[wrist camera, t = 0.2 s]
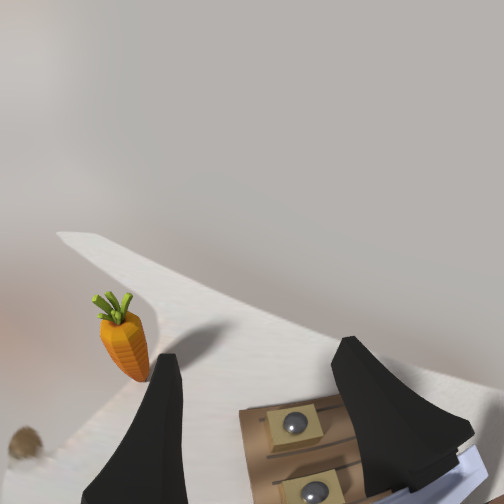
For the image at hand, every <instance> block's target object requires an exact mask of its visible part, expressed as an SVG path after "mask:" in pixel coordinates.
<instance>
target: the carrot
mask: <svg viewBox="0 0 504 504" xmlns="http://www.w3.org/2000/svg"><path fill="white" fill-rule="evenodd" d="M105 296H106V297H107V299H108V300H109V301H110V303H111V304H112V305H113V307H114V309H115V310H114V309H113V308H112V307H111V306H110V305H109V304H108V303H107V302H106V301H105V300H104V299H103V298H101V297H100V296H99V295H95V296H94V297H93V299H92V302H93V303H94V304H96V305H97V306H98V307H100V308H101V309H102V310H104V311H105V312H106V313H107V314H108V315H106V314H102V313H99V314H98V318H101V319H103V320H102V321H101V329H100V337H101V340H102V342H103V343H104V345H105V347H106V349H107V351H108V353H109V354H110V356H111V358H112V360H113V361H114V362H115V363H116V364H117V366H118V367H119V368H120V369H121V370H122V371H123V372H124V373H125V374H127V375H128V376H129V377H131V378H132V379H134V380H135V381H138V382H144V381H145V380H146V379H147V377H148V374H149V370H150V369H149V358H148V350H147V343H146V339H145V335H144V331H143V327H142V323H141V320H140V318H139V317H138V316H136V315H134V314H133V313H131V312H129V311H127V309H128V306H129V304H130V301H131V299H132V297H133V295H132V294H131V293H126V294H125V295H124V297H123V300H122V305H121V308H120V305H119V303H118V301H117V299H116V298H115V296H114V295H113V294H112V292H106V293H105Z"/></svg>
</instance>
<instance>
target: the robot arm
mask: <svg viewBox="0 0 504 504" xmlns="http://www.w3.org/2000/svg"><path fill="white" fill-rule="evenodd" d="M331 367H332V371H333V375H334V378H335V382H336V385H337V387H338V390H339V392H340V395H341V397H342V400H343V402H344V404H345V407H346V409H347V412H348V414H349V417H350V419H351V422H352V425H353V428H354V431H355V435H356V439H357V443H358V447H359V452H360V457H361V463H362V469H363V478H364V491H365V494H366V497H367V498H369V497H372V496H375V495H377V494H380V493H383V492H386V491H388V490H390V489H391V491H392V494H391V495H388V496H386V497H384V498H382V499H380V500H377V501H375V502H373V503H370V504H460V503H461V502H462V501H463V500H464V499H465V498H466V497H467V496H468V495H469V494H470V493H471V492H472V491H473V490H474V489H475V488H476V487H477V486H478V485H479V484H481V483H482V482H483V481H484V480H485V479H486V478H487V477H488V473H487V470H486V468H485V466H484V463H483V461H482V459H481V456H480V454H479V452H478V450H477V448H476V445H475V444H473V445H472V446H470V447H469V448H467V449H466V450H465V451H463V452H462V453H460V454H458V455H456V453H457V452H458V448H457V447H459V446H460V445H462V444H463V443H464V442H466V441H467V440H468V439H470V438H471V437H472V436H474V434H475V432H474V430H473V428H472V426H471V424H470V422H469V421H468V420H466V419H463V418H460V417H458V416H455V415H453V414H451V413H448V412H446V411H444V410H442V409H440V408H439V407H437V406H435V405H433V404H432V403H430V402H428V401H427V400H425V399H424V398H422V397H421V396H419V395H418V394H416V393H415V392H414V391H412V390H411V389H410V388H408V387H407V386H406V385H405V384H403V383H402V382H401V381H400V380H399V379H398V378H396V377H395V376H394V375H393V374H392V373H391V372H390V371H389V370H388V369H387V368H386V367H385V366H384V365H383V364H381V363H380V362H379V361H378V360H377V359H376V358H375V357H374V356H373V355H372V353H371V352H370V351H369V350H368V349H367V348H366V347H365V346H364V345H363V344H362V343H361V342H360V341H359V340H358V339H357V338H356V337H355V336H350V337H345V338H342V340H341V343H340V345H339V347H338V349H337V352H336V354H335V356H334V358H333V360H332V363H331ZM182 415H183V389H182V377H181V374H180V370H179V366H178V362H177V359H176V355H175V354H160V355H159V356H158V359H157V363H156V366H155V369H154V372H153V375H152V378H151V381H150V383H149V386H148V388H147V391H146V393H145V396H144V398H143V401H142V403H141V405H140V407H139V409H138V411H137V413H136V416H135V418H134V420H133V422H132V424H131V426H130V427H129V429H128V431H127V433H126V435H125V436H124V438H123V440H122V441H121V443H120V445H119V446H118V448H117V449H116V451H115V452H114V454H113V455H112V457H111V458H110V460H109V461H108V462H107V464H106V465H105V466H104V468H103V469H102V470H101V472H100V473H99V474H98V475H97V477H96V478H95V479H94V480H93V481H92V482H91V483H90V484H89V486H88V487H87V488H86V489H85V490H84V491H83V494H82V499H81V504H188V499H187V493H186V487H185V479H184V471H183V462H182V447H181V443H182Z"/></svg>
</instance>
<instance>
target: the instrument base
mask: <svg viewBox="0 0 504 504" xmlns="http://www.w3.org/2000/svg"><path fill="white" fill-rule="evenodd" d="M310 404H314V407H315V410H316V413H317V416H318V419H319V422H320V425H321V428H322V431H323V434H324V436H323V437H322V439H321V440H320V441H319V442H318V444H317V445H313V446H309V447H304V448H299V449H294V450H289V451H283V452H277V453H271V452H270V447H269V443H268V438H267V433H266V429H265V424H264V421H265V417H266V412H267V411H275V410H281V409H288V408H294V407H300V406H305V405H310ZM239 418H240V425H241V431H242V437H243V444H244V450H245V456H246V462H247V467H248V473H249V479H250V484H251V490H252V495H253V500H254V504H282V501H281V497H280V492H279V488H278V485H279V484H280V483H281V482H282V481H286V480H292V479H296V478H301V477H306V476H310V475H314V474H318V473H322V472H326V471H329V470H333V469H335V472H336V475H337V478H338V481H339V484H340V487H341V490H342V494H343V497H344V500H345V503H343V504H370V503H373V502H375V501H377V500H380V499H382V498H384V497H386V496H388V495H391V494H392V491H391V489H390V490H388V491H386V492H383V493H380V494H377V495H375V496H372V497H369V498H367V497H366V494H365V491H364V478H363V469H362V463H361V457H360V452H359V447H358V443H357V439H356V435H355V431H354V428H353V425H352V422H351V419H350V417H349V414H348V412H347V409H346V407H345V404H344V402H343V400H342V397H341V395H340V394H338V395H333V396H329V397H324V398H320V399H315V400H310V401H304V402H299V403H293V404H287V405H280V406H273V407H265V408H257V409H248V410H239Z"/></svg>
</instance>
